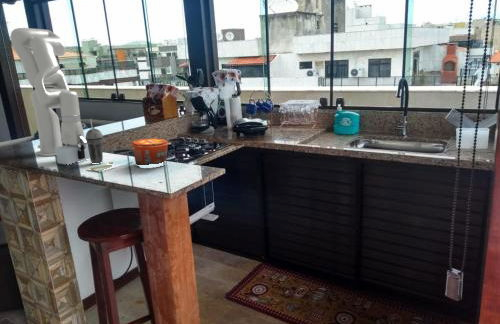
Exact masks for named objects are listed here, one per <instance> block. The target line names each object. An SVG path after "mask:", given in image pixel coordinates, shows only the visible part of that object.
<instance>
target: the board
mask: <svg viewBox="0 0 500 324" xmlns="http://www.w3.org/2000/svg"><path fill="white" fill-rule="evenodd" d="M113 161H114V160H112V161H108V163H109V164H113ZM106 164H107V162H103V163H102V164H96V165H93V166H90V167H87V168H86V170H87V169H91V170H97V171H102V170H104V169H107V168H110V167H112V165H106Z"/></svg>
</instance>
